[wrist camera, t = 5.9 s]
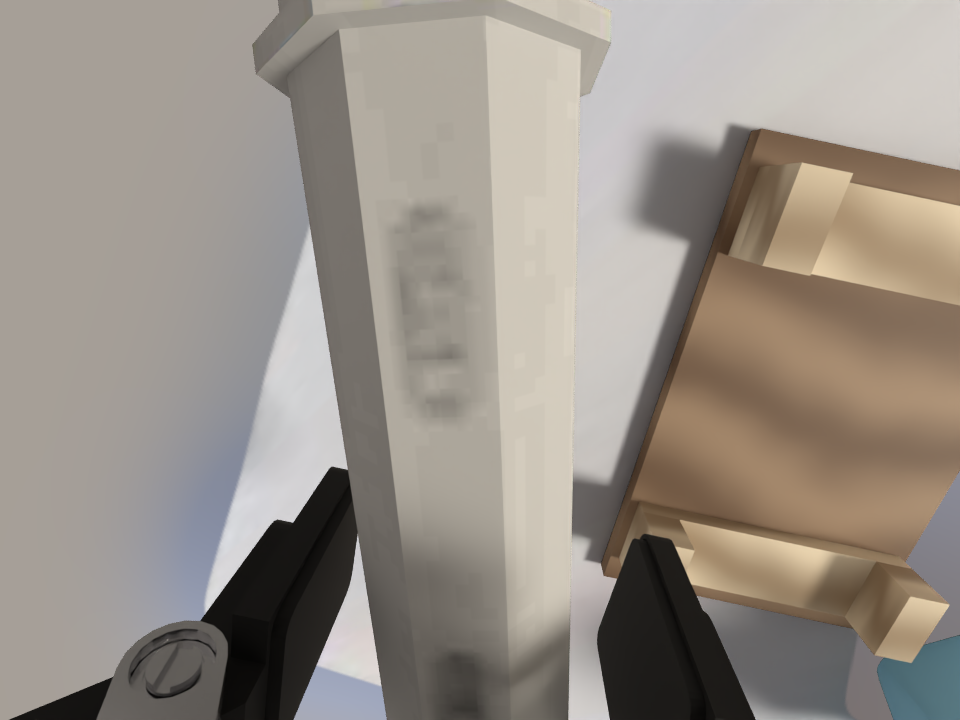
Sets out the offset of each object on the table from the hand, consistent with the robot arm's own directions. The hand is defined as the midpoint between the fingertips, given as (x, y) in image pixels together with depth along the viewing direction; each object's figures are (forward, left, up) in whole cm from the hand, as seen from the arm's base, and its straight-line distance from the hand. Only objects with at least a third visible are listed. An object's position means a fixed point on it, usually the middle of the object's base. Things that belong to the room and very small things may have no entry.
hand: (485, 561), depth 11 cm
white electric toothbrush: (0, 0, -2) cm, 2 cm away
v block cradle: (0, +17, -17) cm, 24 cm away
